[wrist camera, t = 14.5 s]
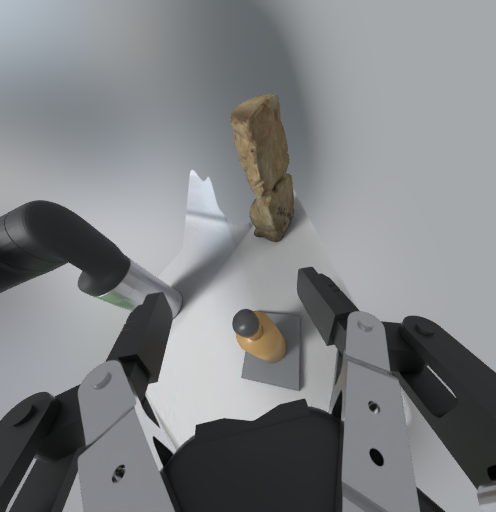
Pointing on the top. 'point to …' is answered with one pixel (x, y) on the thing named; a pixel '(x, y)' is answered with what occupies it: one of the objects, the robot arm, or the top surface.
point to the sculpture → (265, 164)
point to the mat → (285, 369)
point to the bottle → (259, 335)
